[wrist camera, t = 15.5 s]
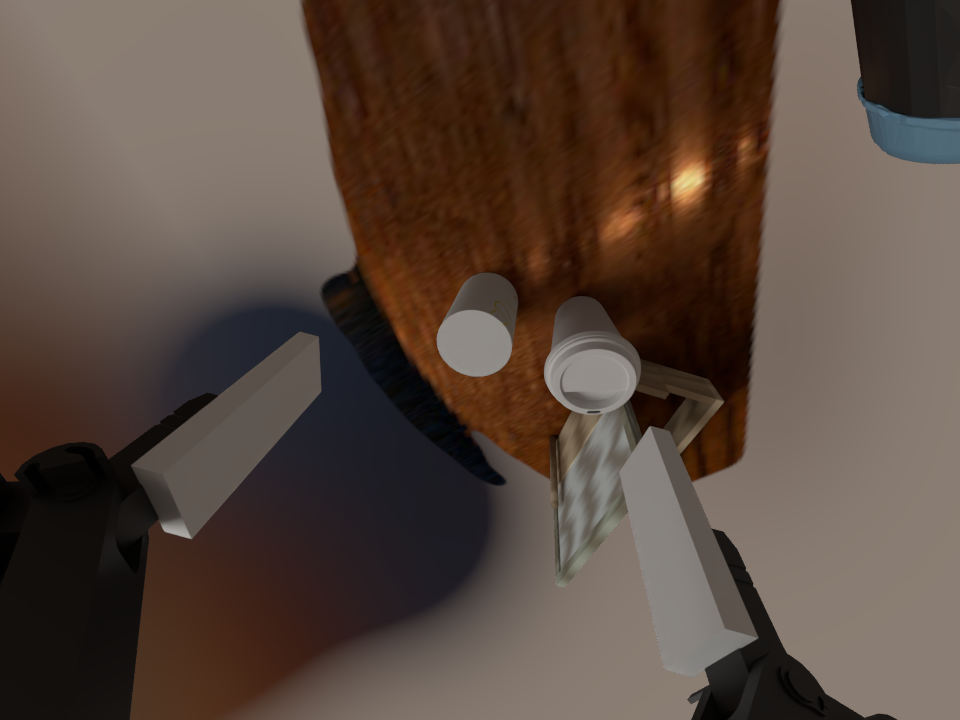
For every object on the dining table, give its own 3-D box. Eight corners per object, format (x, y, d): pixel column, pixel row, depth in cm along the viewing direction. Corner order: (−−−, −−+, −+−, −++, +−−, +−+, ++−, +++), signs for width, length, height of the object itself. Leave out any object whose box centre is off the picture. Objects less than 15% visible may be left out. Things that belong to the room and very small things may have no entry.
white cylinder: (516, 330, 50) (509, 379, 40) (459, 326, 51) (438, 373, 40) (520, 274, 45) (514, 312, 35) (458, 270, 46) (434, 307, 36)
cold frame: (597, 345, 49) (630, 470, 30) (708, 379, 49) (809, 523, 31) (544, 446, 60) (545, 582, 42) (635, 473, 61) (676, 620, 42)
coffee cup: (534, 339, 50) (532, 406, 37) (557, 275, 45) (563, 329, 32) (599, 357, 50) (619, 430, 37) (630, 295, 45) (665, 357, 32)
